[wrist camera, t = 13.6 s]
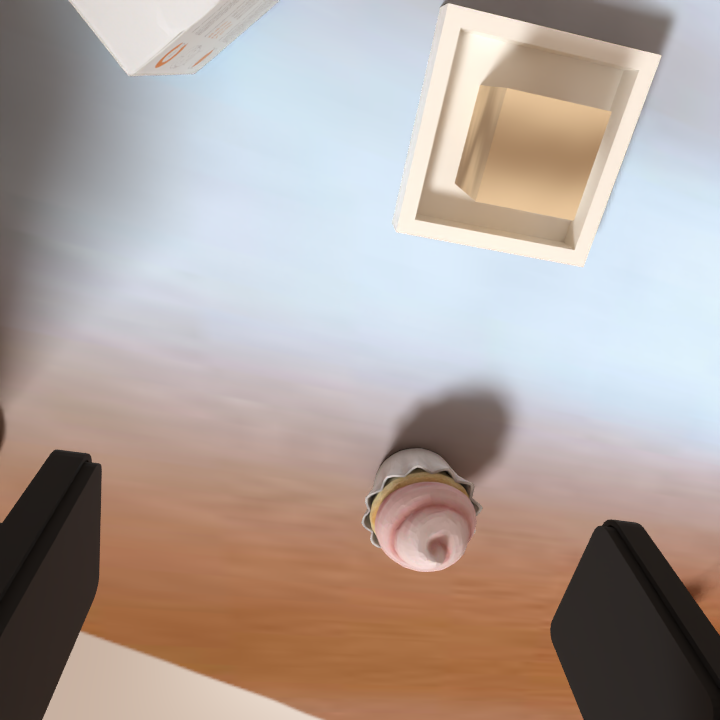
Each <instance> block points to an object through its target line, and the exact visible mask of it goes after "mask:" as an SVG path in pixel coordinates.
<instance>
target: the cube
mask: <svg viewBox="0 0 720 720" xmlns="http://www.w3.org/2000/svg"><path fill="white" fill-rule="evenodd" d="M611 113H612V112H611V111H607V110H603V109H598V108H594V107H589V106H585V105H580V104H576V103H572V102H567V101H563V100H558V99H554V98H549V97H545V96H541V95H536V94H532V93H527V92H523V91H518V90H514V89H510V88H503V87H493V86H483V85H480V87H479V91H478V94H477V98H476V102H475V106H474V110H473V114H472V118H471V121H470V125H469V129H468V133H467V137H466V141H465V145H464V149H463V152H462V156H461V160H460V164H459V168H458V172H457V176H456V179H455V184H456V185H457V186H458V187H459V188H460V189H462V190H463V191H464V192H465V193H466V194H467V195H469V196H470V197H471V198H472V199H473V200H475V201H476V202H481V203H486V204H491V205H496V206H501V207H506V208H511V209H516V210H522V211H527V212H532V213H537V214H542V215H547V216H552V217H557V218H562V219H567V220H572V221H574V219H575V216H576V213H577V210H578V207H579V204H580V202H581V199H582V196H583V193H584V190H585V187H586V184H587V181H588V179H589V176H590V173H591V170H592V167H593V164H594V161H595V159H596V156H597V153H598V150H599V147H600V144H601V141H602V139H603V136H604V133H605V130H606V127H607V124H608V121H609V118H610V116H611Z"/></svg>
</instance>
